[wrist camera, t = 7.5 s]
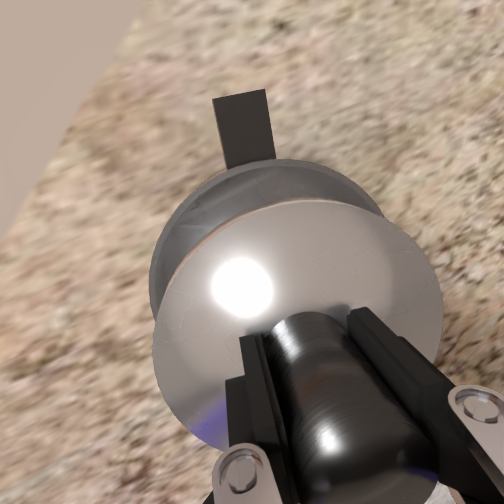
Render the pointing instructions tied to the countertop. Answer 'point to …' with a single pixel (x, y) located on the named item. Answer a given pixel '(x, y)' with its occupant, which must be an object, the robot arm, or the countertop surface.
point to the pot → (243, 185)
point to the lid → (306, 342)
